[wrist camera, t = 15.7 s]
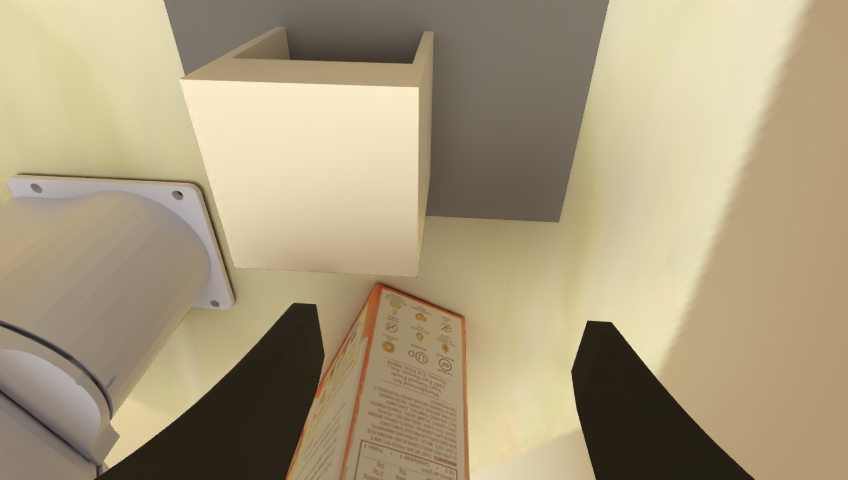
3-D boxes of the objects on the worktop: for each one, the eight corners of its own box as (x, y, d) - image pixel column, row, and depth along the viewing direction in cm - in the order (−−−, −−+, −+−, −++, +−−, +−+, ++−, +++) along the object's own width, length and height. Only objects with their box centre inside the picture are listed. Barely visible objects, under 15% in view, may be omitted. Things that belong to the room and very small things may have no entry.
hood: (299, 170, 20) (234, 267, 14) (276, 26, 17) (178, 79, 11) (430, 175, 20) (417, 277, 14) (433, 31, 16) (418, 87, 11)
